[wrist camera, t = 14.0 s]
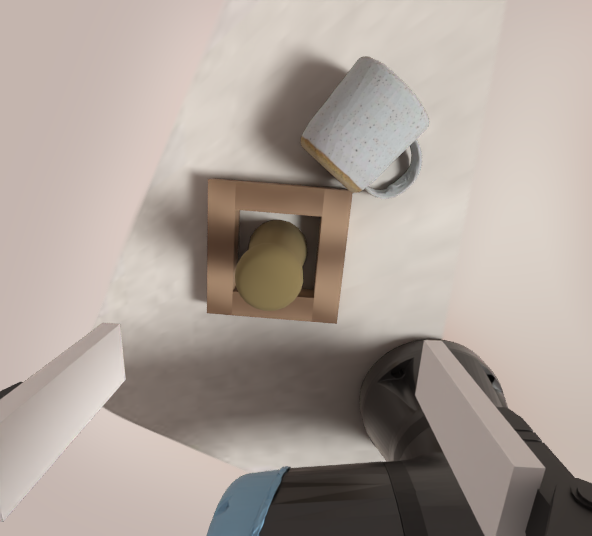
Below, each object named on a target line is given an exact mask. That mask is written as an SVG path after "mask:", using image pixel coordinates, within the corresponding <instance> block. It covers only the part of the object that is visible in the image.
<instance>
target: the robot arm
mask: <svg viewBox="0 0 592 536" xmlns="http://www.w3.org/2000/svg"><path fill="white" fill-rule="evenodd" d="M125 380H126V379H125V368H124V358H123V348H122V338H121V327H120V324H113V323H102V324H101V325H99V326H98V327H97V328H95V329H94V330H93V331H91V332H90V333H88V334H87V335H86V336H85V337H83V338H82V339H81V340H79V341H78V342H77V343H75V344H74V345H72V346H71V347H70V348H68V349H67V350H66V351H65V352H63V353H62V354H61V355H59V356H58V357H56V358H55V359H54V360H52V361H51V362H50V363H48V364H47V365H46V366H44V367H43V368H42V369H41V370H39V371H38V372H36V373H35V374H34V375H32V376H31V377H30V378H28V379H27V380H26V381H24V382H19V383H17V384H15V385H13V386H11V387H8V388H6V389H4V390H2V391H0V521H1V522H3V521H4V520H5V519H6V518H7V517H8V516H9V514H10V513H11V512H12V511H13V510H14V509H15V507H16V506H17V505H18V504H19V503H20V502H21V501H22V499H23V498H24V497H25V496H26V495H27V494H28V492H29V491H30V490H31V489H32V488H33V487H34V485H35V484H36V483H37V482H38V481H39V480H40V479H41V477H42V476H43V475H44V474H45V473H46V471H47V470H48V469H49V468H50V467H51V466H52V465H53V463H54V462H55V461H56V460H57V459H58V458H59V456H60V455H61V454H62V453H63V452H64V451H65V449H66V448H67V447H68V446H69V445H70V444H71V443H72V441H73V440H74V439H75V438H76V437H77V435H78V434H79V433H80V432H81V431H82V430H83V429H84V427H85V426H86V425H87V424H88V423H89V422H90V420H91V419H92V418H93V417H94V416H95V414H96V413H97V412H98V411H99V410H100V409H101V408H102V406H103V405H104V404H105V403H106V402H107V401H108V400H109V398H110V397H111V396H112V395H113V394H114V393H115V391H116V390H117V389H118V388H119V387H120V386H121V384H122V383H123V382H124V381H125ZM360 410H361V415H362V419H363V423H364V427H365V429H366V432H367V434H368V436H369V438H370V440H371V441H372V443H373V444H374V445H375V446H376V447H377V449H378V450H379V451H380V453H381V454H382V456H383V457H384V458H385V460H386V461H387V462H369V463H355V464H341V465H328V466H314V467H300V468H291V467H287V466H286V467H282V468H281V469H280V470H273V471H265V472H257V473H250V474H246V475H243V476H241V477H239V478H238V479H236V480H235V481H234V482H233V483H232V484H231V485H230V486H229V487H228V489H227V490H226V491H225V493H224V494H223V496H222V498H221V500H220V502H219V504H218V506H217V508H216V511H215V513H214V516H213V519H212V521H211V523H210V526H209V530H208V533H207V536H592V483H589V482H587V481H584V480H581V479H579V478H574V476H573V475H572V474H571V473H570V472H569V471H568V470H567V468H566V467H565V466H564V465H563V464H562V463H561V462H560V461H559V459H558V458H557V457H556V456H555V455H554V454H553V453H552V451H551V450H550V449H549V448H548V447H547V446H546V445H545V444H544V443H542V441H541V439H540V438H539V437H538V436H537V435H536V433H533V430H532V429H531V428H530V427H529V425H528V424H527V423H526V422H525V421H524V420H523V419H522V418H521V417H520V416H518V415H516V414H515V413H514V412H513V411H511V410H510V409H508V406H507V403H506V400H505V397H504V394H503V391H502V388H501V385H500V383H499V381H498V379H497V377H496V376H495V374H494V373H493V372H492V371H491V369H490V368H489V367H488V366H487V365H486V364H485V363H484V361H483V360H482V359H481V358H480V357H479V356H478V355H476V354H475V353H474V352H473V351H471V350H470V349H468V348H466V347H464V346H462V345H460V344H457V343H454V342H450V341H446V340H437V339H428V340H419V341H414V342H410V343H407V344H404V345H402V346H399V347H397V348H395V349H393V350H392V351H390V352H388V353H387V354H386V355H384V356H383V357H382V358H381V359H379V360H378V361H377V362H376V363H375V365H374V366H373V367H372V368H371V369H370V371H369V372H368V374H367V376H366V377H365V380H364V382H363V384H362V388H361V392H360Z"/></svg>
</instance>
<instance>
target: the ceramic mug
mask: <svg viewBox="0 0 592 536" xmlns="http://www.w3.org/2000/svg"><path fill="white" fill-rule="evenodd" d="M428 126H429V118H428V115H427V113H426V110H425V109H424V107H423V106H422V104H421V102H420V100H419V99H418V98H417V96H416V95H415V94H414V93H413V92H412V90H411V89H410V88H409V87H408V86H407V84H406V83H404V82H403V80H401V79H400V78H399V77H398V76H397V75H396V74H395V73H394V72H393V71H392V70H390V69H389V68H388V67H387V66H386V65H384V64H383V63H381V62H379V61H377V60H375V59H373V58H371V57H361V58H359V59H358V60H357V62H356V63H355V64H354V66H353V67H352V68H351V69H350V71H349V72H348V73H347V75H346V76H345V77H344V79H343V80H342V81H341V82H340V84H339V85H338V86H337V87H336V89H335V90H334V91H333V93H332V94H331V95H330V97H329V98H328V99H327V101H326V102H325V103H324V105H323V106H322V107H321V108H320V109H319V111H318V112H317V113H316V114H315V116H314V117H313V118H312V119H311V121H310V122H309V124H308V125H307V127H306V129H305V131H304V132H303V134H302V136H301V146H302V147H303V148H304V149H305V150H306V151H307V152H308V153H309V154H310V155H311V156H312V157H313V158H314V159H316V160H317V161H318V162H319V163H320V164H321V165H322V166H323V167H324V168H325V169H326V170H327V171H328V172H329V173H331V174H332V175H333V176H334V177H335V178H336V179H337V180H338V181H339V182H340V183H342V184H343V185H344V186H345V187H346V188H347V189H348V190H349V191H350V192H352V193H357V192H360V191H362V190H366V191H367V192H368V193H369V194H371V195H373V196H375V197H378V198H381V199H388V198H392V197H396V196H398V195H399V194H401V193H403V192H404V191H405V190H407V189H408V188H409V187H410V186H411V185H412V184H413V183H414V181H415V180H416V179H417V177H418V175H419V173H420V170H421V165H422V153H421V148H420V145H419V142H418V140H417V138H418V137H419V136H420V135H421V134H422V133H423V132H424V131H425V130H426V129H427V127H428ZM409 146H410V149H411V154H412V156H411V163H410V166H409V168H408V169H407V172H406V173H405V174H404V175H403V176H401V177H400V178H399V179H398V180H397V181H396V182H394V183H393V184H391V185H389V186H388V188H387V189H384V190H374V189H372V188H370V187H368V186H369V185H370V184H371V183H373V182H374V181H375V180H376V179H377V178H378V177H379V176H380V175H381V174H382V173H383V171H384V170H385V169H386V168H387V167H388V166H389V165H390V164H391V163H392V162H393V161H394V160H395V159H396V158H397V157H398V156H400V155H401V154H402V153H403V152H404V151H405V150H406V149H407V148H408V147H409Z"/></svg>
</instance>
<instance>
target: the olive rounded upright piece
mask: <svg viewBox="0 0 592 536" xmlns="http://www.w3.org/2000/svg"><path fill="white" fill-rule="evenodd" d="M307 253H308V252H307V242H306V239H305V237H304V235H303V233H302V232H301V231H300V230H299V228H298V227H296V226H295V225H293V224H292V223H290V222H286V221H283V220H271V221H269V222H266V223H263V224H262V225H260V226H259V227H258V228H257V229H256V230H255V231H254V233H253V234H252V236H251V238H250V242H249V246H248V251H246V252H245V253H244V254H243V255H242V257H241V258H240V260H239V262H238V263H237V266H236V270H235V284H236V288H237V290H238V292H239V295H240V296H241V297H242V298H243V299H244V301H245V302H246V303H247V304H249V305H251V306H252V307H254V308H256V309H260V310H263V311H276V310H279V309H282V308H285V307H286V306H288V305H289V304H290V303H292V302H293V301H294V300H295V298H296V297H297V296H298V294H299V293H300V291H301V288H302V284H303V269H302V266H303V264H304V262H305V260H306V256H307Z"/></svg>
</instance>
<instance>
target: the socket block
mask: <svg viewBox="0 0 592 536" xmlns="http://www.w3.org/2000/svg"><path fill="white" fill-rule="evenodd" d="M351 201H352V192H350V191H349V190H348V189H338V188H326V187H314V186H301V185H289V184H277V183H265V182H252V181H240V180H228V179H216V178H214V179H208V239H207V313H212V314H225V315H237V316H249V317H261V318H274V319H286V320H298V321H310V322H323V323H335V324H337V316H338V308H339V300H340V292H341V283H342V275H343V267H344V259H345V250H346V242H347V234H348V226H349V217H350V209H351ZM240 210H246V211H259V212H271V213H283V214H296V215H308V216H320V227H319V237H318V247H317V257H316V268H315V278H314V288H313V290H311V289H301V291H300V293H299V294H298V296H297V297H296V298H295V300H294V301H293V302H292V303H290V304H289V305H288V306H286V307H285V308H282V309H279V310H276V311H263V310H260V309H256V308H254V307H252V306H251V305H249V304H247V303H246V302H245V301H244V299H243V298H242V297H241V296H240V295H239V292H238V290H237V288H236V284H235V270H236V266H237V263H238V247H239V217H240Z"/></svg>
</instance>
